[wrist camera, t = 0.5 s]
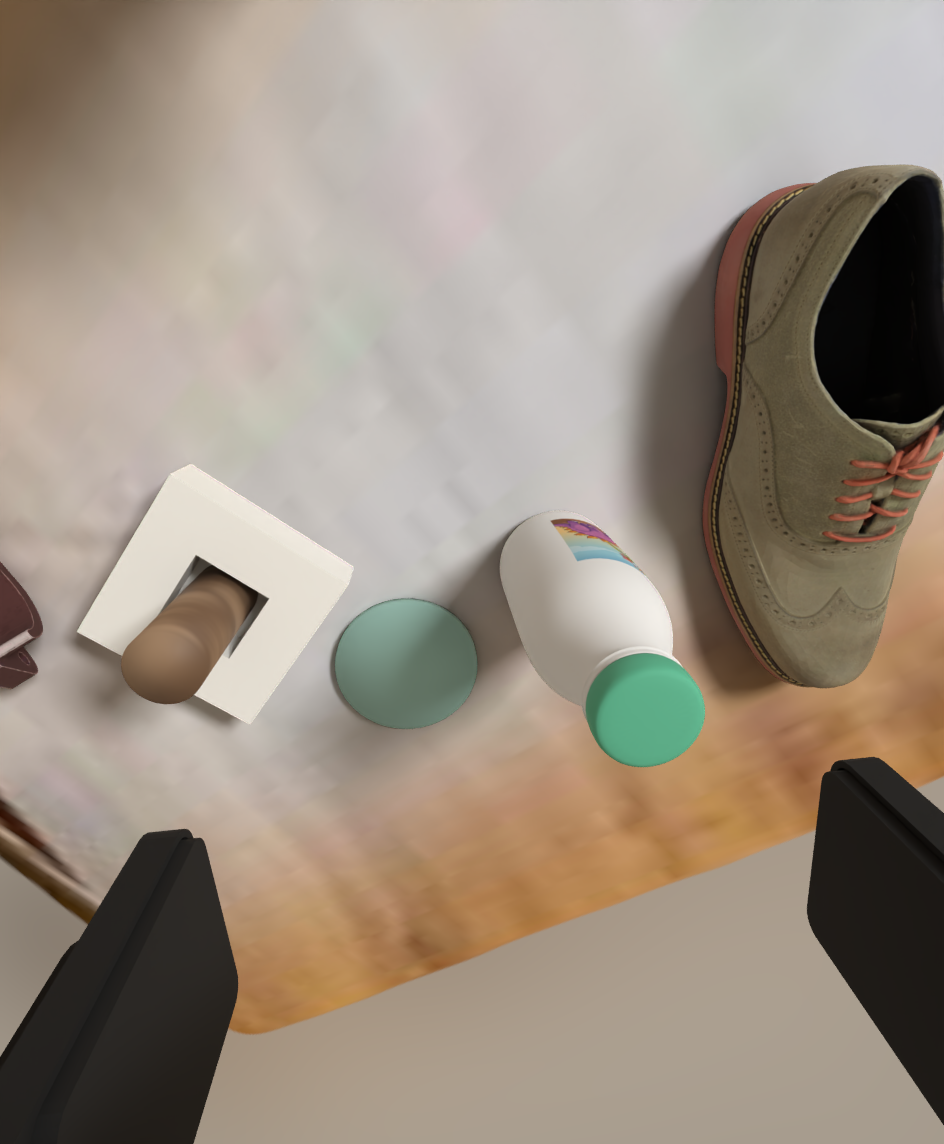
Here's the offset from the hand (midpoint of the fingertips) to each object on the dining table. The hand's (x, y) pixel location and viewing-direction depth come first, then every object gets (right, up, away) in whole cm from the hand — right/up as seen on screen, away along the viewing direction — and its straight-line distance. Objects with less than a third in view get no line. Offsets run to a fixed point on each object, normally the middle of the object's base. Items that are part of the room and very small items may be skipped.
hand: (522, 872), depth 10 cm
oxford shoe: (+20, +12, +33) cm, 41 cm away
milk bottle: (+5, +5, +34) cm, 35 cm away
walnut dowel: (-17, +3, +33) cm, 37 cm away
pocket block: (-17, +3, +33) cm, 37 cm away
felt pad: (-5, -2, +36) cm, 36 cm away
